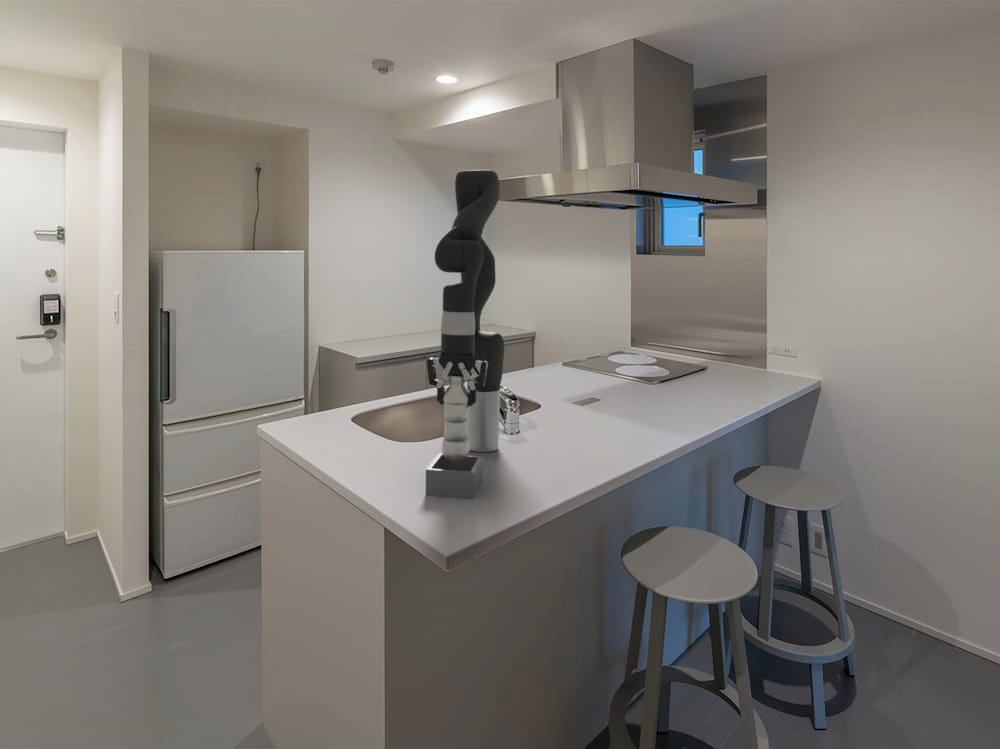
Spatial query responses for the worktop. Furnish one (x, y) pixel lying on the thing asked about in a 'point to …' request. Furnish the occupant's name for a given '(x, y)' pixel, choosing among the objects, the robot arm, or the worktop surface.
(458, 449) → the plastic bottle
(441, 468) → the storage caddy
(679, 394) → the worktop surface
